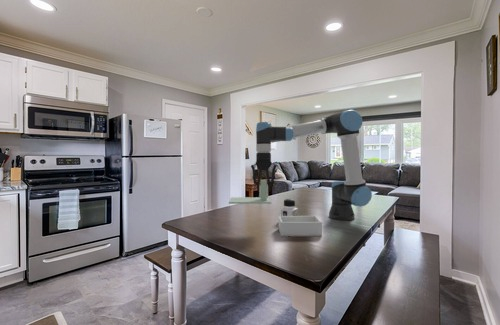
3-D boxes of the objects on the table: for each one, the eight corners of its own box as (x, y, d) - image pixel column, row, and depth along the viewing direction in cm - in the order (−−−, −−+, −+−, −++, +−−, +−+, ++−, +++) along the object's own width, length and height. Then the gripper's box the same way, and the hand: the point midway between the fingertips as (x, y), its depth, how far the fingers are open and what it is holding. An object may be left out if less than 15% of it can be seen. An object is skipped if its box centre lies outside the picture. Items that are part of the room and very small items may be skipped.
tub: (315, 228, 131) (315, 215, 131) (322, 236, 119) (322, 222, 119) (278, 228, 132) (278, 216, 131) (281, 236, 120) (281, 222, 119)
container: (292, 223, 141) (292, 201, 140) (280, 221, 146) (280, 199, 145) (298, 220, 147) (298, 199, 147) (286, 218, 152) (286, 198, 151)
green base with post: (269, 198, 133) (269, 179, 133) (271, 203, 120) (271, 182, 120) (231, 198, 134) (231, 179, 133) (228, 203, 121) (228, 182, 120)
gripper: (278, 152, 130) (278, 196, 131) (248, 152, 130) (248, 196, 131) (279, 152, 122) (279, 198, 123) (247, 152, 122) (248, 198, 123)
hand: (263, 197), depth 127 cm, fingers closed on green base with post, 3 cm apart
